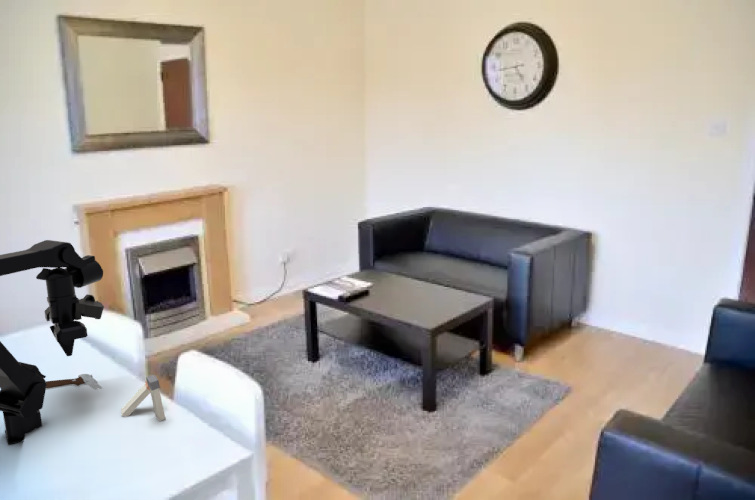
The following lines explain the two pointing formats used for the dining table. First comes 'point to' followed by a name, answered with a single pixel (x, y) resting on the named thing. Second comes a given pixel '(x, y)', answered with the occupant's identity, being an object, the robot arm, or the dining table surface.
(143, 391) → the lever
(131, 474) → the dining table surface
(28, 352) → the dining table surface
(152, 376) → the lever
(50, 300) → the robot arm
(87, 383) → the handgun
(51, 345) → the dining table surface
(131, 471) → the dining table surface
